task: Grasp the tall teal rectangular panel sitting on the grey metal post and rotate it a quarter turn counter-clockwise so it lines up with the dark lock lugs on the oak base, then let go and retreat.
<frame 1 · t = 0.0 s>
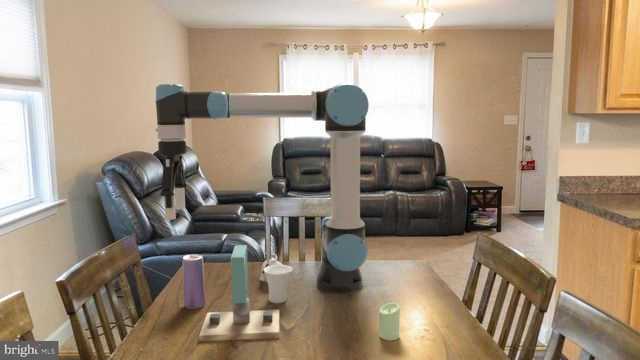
hand: (175, 214, 138), 28 cm above the table, fingers open, 13 cm apart
cup: (279, 300, 147), on the table
candle: (389, 336, 123), on the table
post base: (241, 327, 129), on the table
beverage can: (194, 306, 143), on the table
cat figurine: (273, 282, 163), on the table
teal rectangular panel: (240, 275, 127), point 14 cm above the table, hinge at 0.0°
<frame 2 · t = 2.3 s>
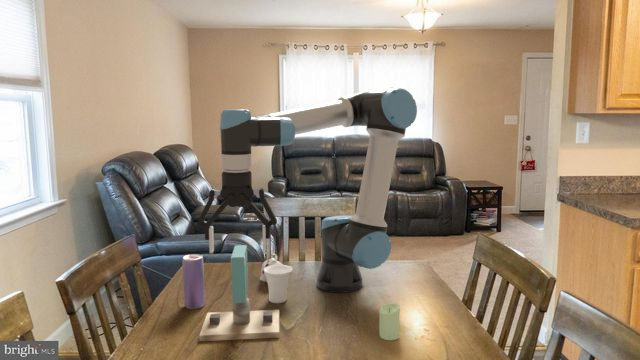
hand: (238, 251, 125), 21 cm above the table, fingers open, 13 cm apart
nothing on the table moved.
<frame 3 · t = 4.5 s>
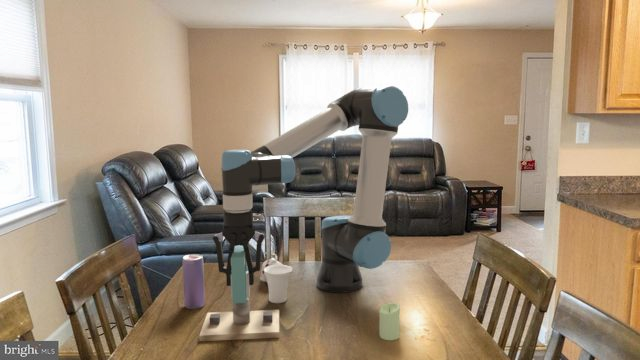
hand: (240, 296, 127), 9 cm above the table, fingers closed on teal rectangular panel, 3 cm apart
teal rectangular panel: (240, 275, 127), point 14 cm above the table, hinge at 0.0°, touching gripper
everything else where it was.
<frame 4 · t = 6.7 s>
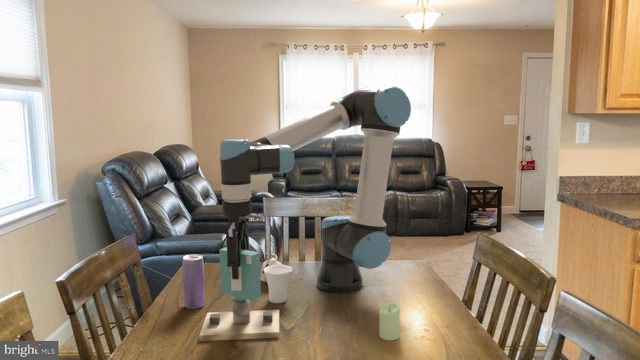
hand: (239, 285, 127), 11 cm above the table, fingers closed on teal rectangular panel, 5 cm apart
teal rectangular panel: (240, 275, 127), point 14 cm above the table, hinge at 53.5°, touching gripper
everything else where it was.
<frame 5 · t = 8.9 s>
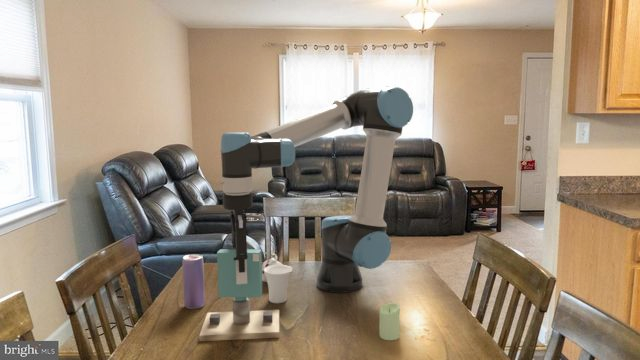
hand: (240, 277, 127), 14 cm above the table, fingers open, 8 cm apart
teal rectangular panel: (240, 275, 127), point 14 cm above the table, hinge at 83.2°
everything else where it was.
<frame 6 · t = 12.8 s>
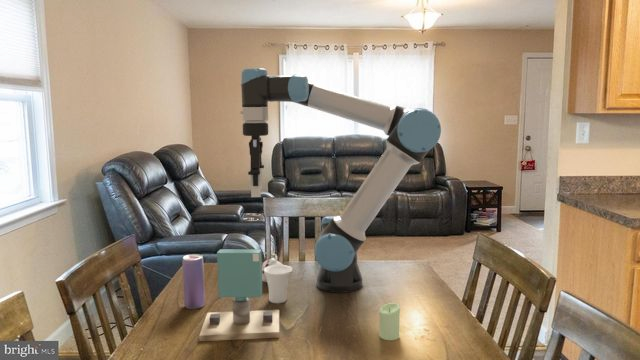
hand: (257, 193, 145), 33 cm above the table, fingers open, 13 cm apart
nothing on the table moved.
at the end: teal rectangular panel at +83° (first picture: +0°); the gripper is holding nothing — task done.
